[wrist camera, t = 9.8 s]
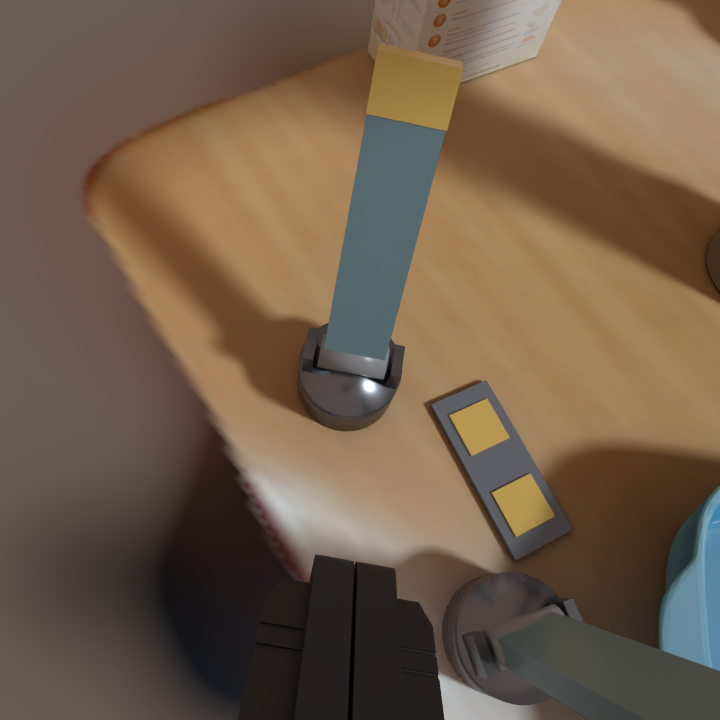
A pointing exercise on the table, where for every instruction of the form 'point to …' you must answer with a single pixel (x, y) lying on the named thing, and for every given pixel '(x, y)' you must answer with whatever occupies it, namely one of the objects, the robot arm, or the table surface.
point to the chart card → (501, 470)
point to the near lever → (603, 670)
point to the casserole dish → (694, 588)
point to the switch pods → (474, 599)
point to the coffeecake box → (465, 30)
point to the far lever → (388, 204)
